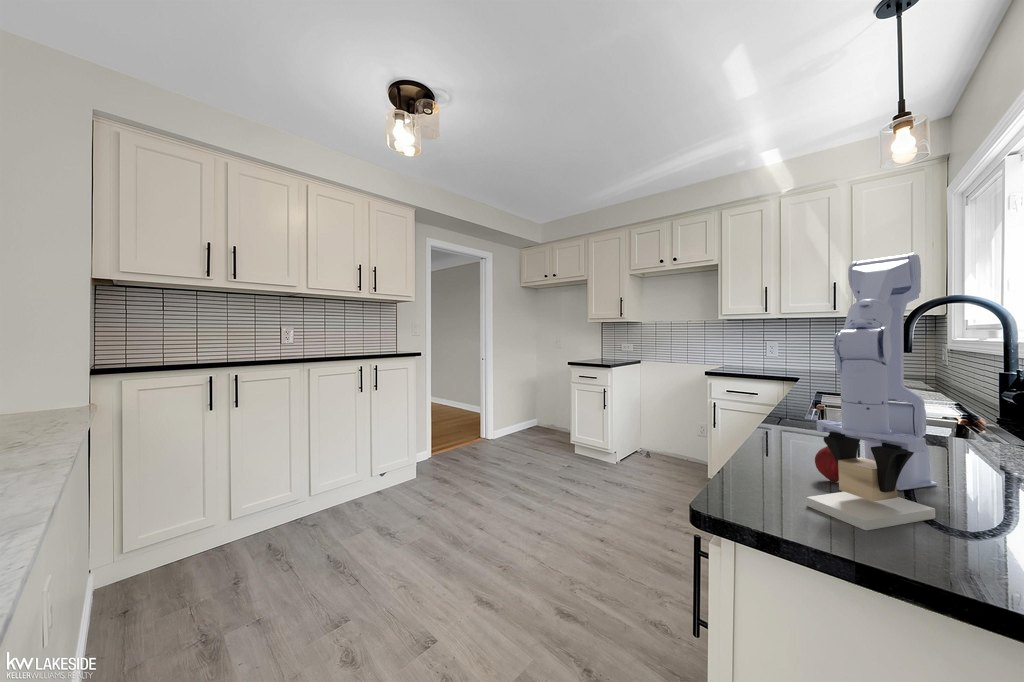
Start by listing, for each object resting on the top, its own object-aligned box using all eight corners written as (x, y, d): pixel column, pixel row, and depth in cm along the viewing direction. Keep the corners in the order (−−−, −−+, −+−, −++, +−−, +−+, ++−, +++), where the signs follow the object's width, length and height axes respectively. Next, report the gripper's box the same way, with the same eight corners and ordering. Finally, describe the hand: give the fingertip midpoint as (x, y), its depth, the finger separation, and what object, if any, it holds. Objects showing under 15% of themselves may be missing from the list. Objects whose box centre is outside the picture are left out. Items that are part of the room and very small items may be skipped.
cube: (862, 486, 66) (861, 457, 66) (897, 497, 61) (896, 466, 61) (839, 489, 64) (838, 460, 65) (872, 501, 60) (871, 469, 60)
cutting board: (870, 496, 68) (870, 487, 68) (935, 518, 60) (935, 508, 60) (806, 505, 65) (806, 497, 65) (865, 530, 57) (865, 520, 57)
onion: (861, 488, 72) (859, 445, 72) (826, 487, 73) (824, 445, 73) (841, 477, 78) (839, 438, 78) (809, 476, 79) (807, 437, 79)
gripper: (801, 397, 69) (804, 473, 69) (898, 410, 55) (902, 505, 55) (832, 395, 70) (835, 469, 70) (934, 407, 56) (938, 499, 56)
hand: (867, 484), depth 63 cm, fingers closed on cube, 5 cm apart
